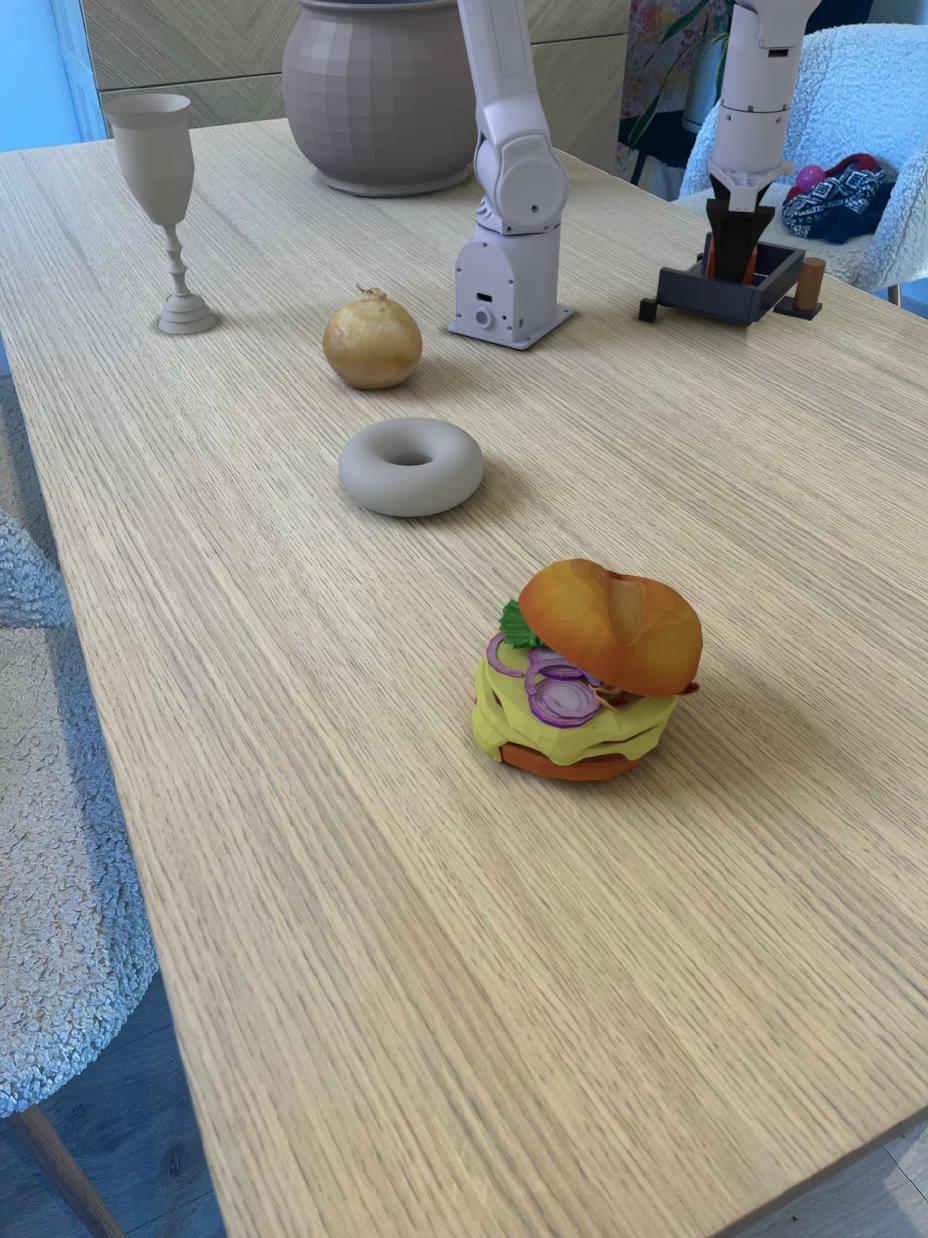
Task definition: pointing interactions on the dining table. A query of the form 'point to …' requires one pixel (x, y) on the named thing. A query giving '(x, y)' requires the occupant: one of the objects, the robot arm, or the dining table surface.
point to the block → (749, 271)
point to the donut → (410, 491)
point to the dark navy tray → (747, 287)
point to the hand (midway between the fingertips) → (728, 268)
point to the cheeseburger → (585, 672)
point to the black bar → (653, 304)
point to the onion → (372, 342)
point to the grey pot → (381, 95)
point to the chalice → (161, 186)
